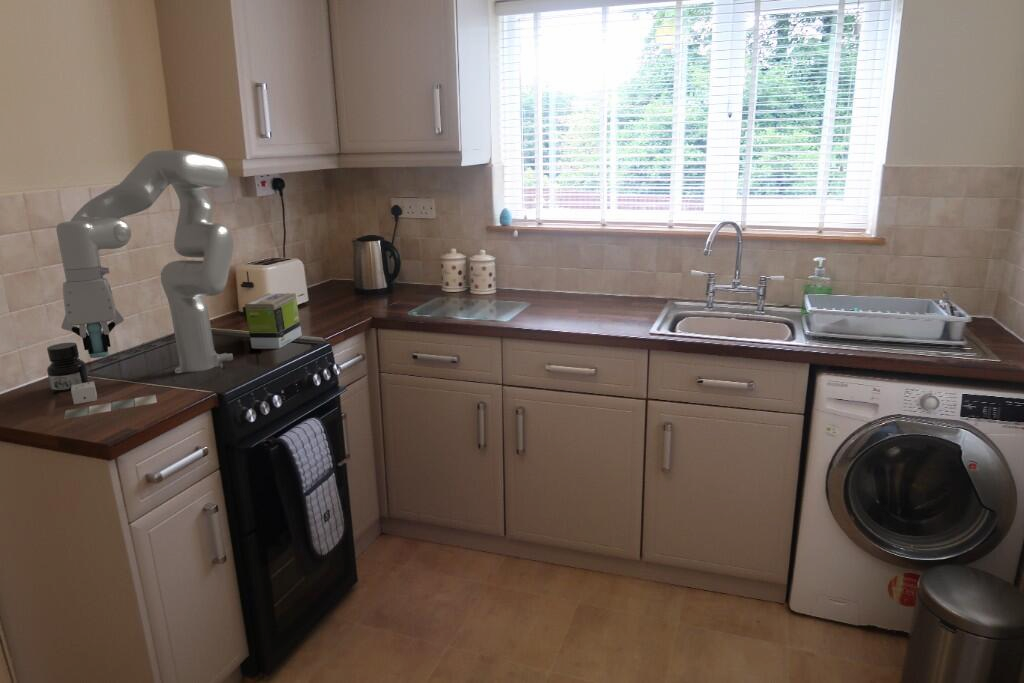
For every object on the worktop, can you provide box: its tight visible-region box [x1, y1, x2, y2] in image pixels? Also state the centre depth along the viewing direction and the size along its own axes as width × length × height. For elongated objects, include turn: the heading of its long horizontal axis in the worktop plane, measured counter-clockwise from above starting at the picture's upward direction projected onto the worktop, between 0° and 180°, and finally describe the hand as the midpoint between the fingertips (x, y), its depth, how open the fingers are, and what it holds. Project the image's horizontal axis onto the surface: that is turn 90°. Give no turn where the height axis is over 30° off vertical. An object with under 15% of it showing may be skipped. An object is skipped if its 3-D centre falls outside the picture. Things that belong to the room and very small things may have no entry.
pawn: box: [85, 322, 110, 359], centre depth 172 cm, size 4×4×9 cm
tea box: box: [244, 292, 303, 350], centre depth 231 cm, size 15×10×15 cm, turn 168°
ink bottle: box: [46, 342, 90, 394], centre depth 195 cm, size 10×9×12 cm
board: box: [63, 394, 158, 420], centre depth 177 cm, size 20×7×1 cm, turn 118°
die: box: [70, 380, 98, 405], centre depth 183 cm, size 5×5×5 cm
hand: (98, 350), depth 173 cm, fingers closed on pawn, 2 cm apart
